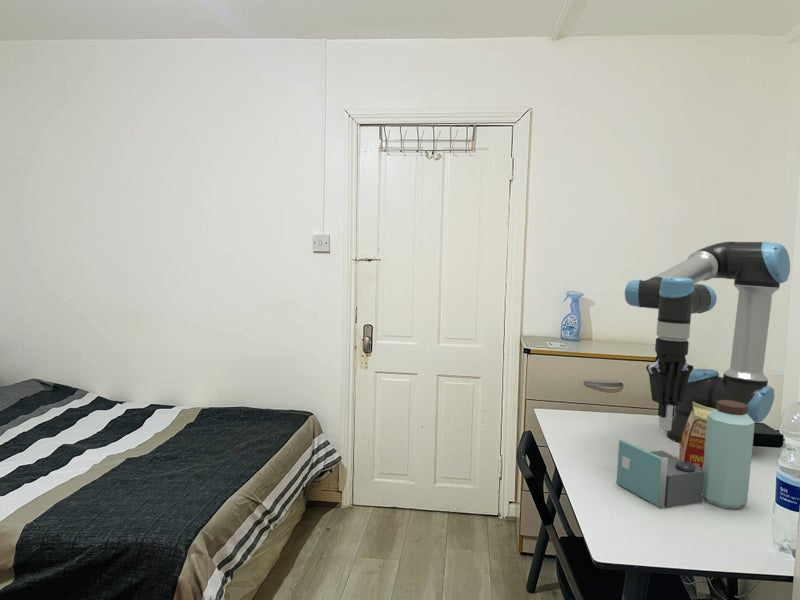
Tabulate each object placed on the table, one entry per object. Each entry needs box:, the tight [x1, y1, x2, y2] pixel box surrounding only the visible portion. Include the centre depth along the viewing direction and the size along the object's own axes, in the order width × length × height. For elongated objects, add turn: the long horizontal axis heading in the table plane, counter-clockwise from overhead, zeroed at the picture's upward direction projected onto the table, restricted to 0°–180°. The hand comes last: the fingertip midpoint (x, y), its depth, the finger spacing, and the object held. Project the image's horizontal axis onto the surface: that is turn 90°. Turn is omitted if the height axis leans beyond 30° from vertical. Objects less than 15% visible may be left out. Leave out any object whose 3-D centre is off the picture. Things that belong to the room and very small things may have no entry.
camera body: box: [650, 450, 704, 508], centre depth 143 cm, size 11×14×9 cm
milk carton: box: [678, 402, 714, 471], centre depth 156 cm, size 9×9×20 cm
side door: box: [616, 439, 668, 509], centre depth 141 cm, size 15×2×12 cm, turn 23°
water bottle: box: [702, 400, 756, 510], centre depth 138 cm, size 10×10×25 cm
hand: (664, 428), depth 144 cm, fingers closed
